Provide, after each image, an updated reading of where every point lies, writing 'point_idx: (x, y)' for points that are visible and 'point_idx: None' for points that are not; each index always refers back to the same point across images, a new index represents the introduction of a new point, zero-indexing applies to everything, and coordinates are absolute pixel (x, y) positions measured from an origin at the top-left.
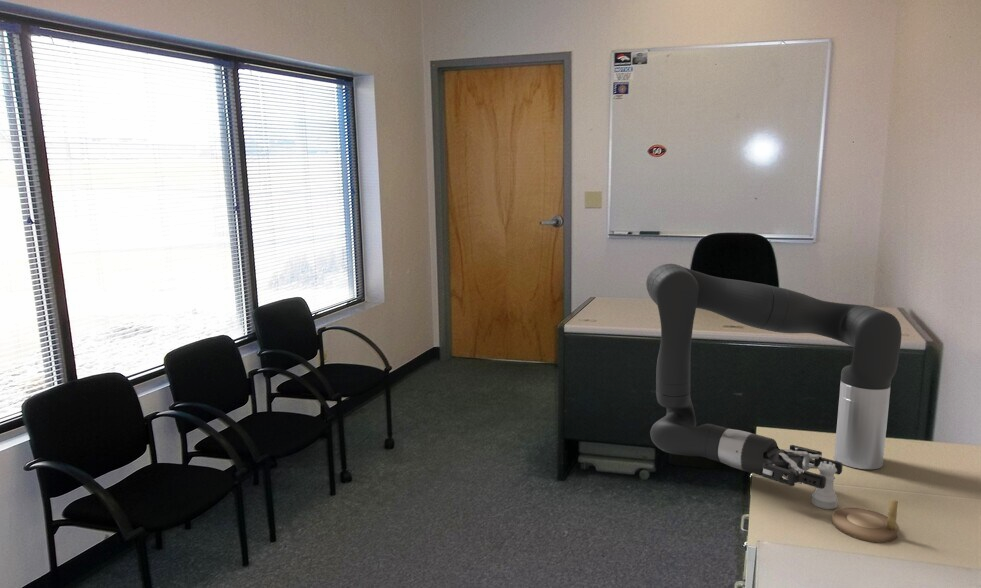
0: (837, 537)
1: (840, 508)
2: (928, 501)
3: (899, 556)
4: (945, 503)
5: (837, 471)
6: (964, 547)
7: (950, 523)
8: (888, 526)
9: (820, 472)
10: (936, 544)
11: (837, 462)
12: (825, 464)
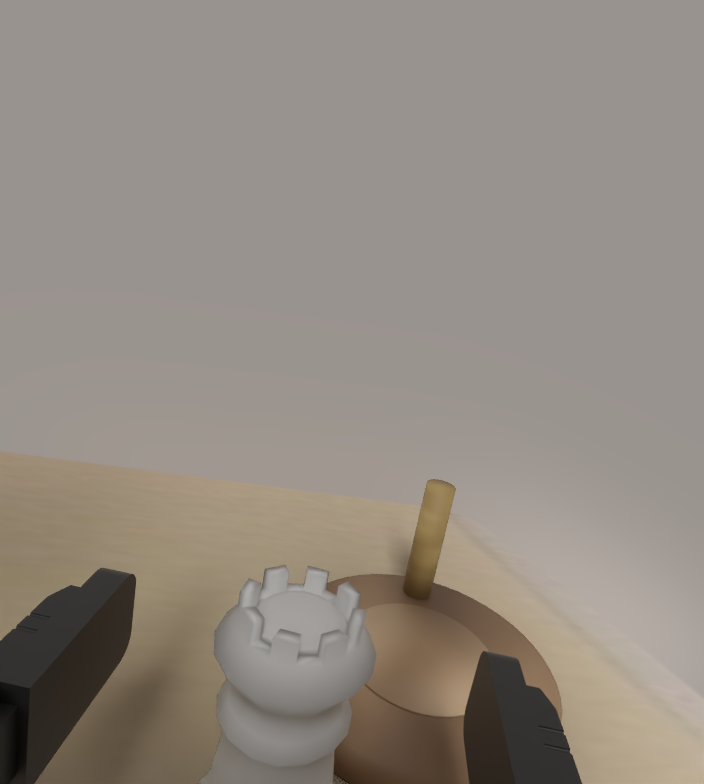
0: (620, 777)
1: (359, 751)
2: (16, 513)
3: (535, 605)
4: (24, 488)
5: (116, 646)
6: (338, 502)
7: (194, 500)
8: (430, 586)
9: (325, 713)
10: (368, 537)
11: (109, 583)
12: (288, 625)
